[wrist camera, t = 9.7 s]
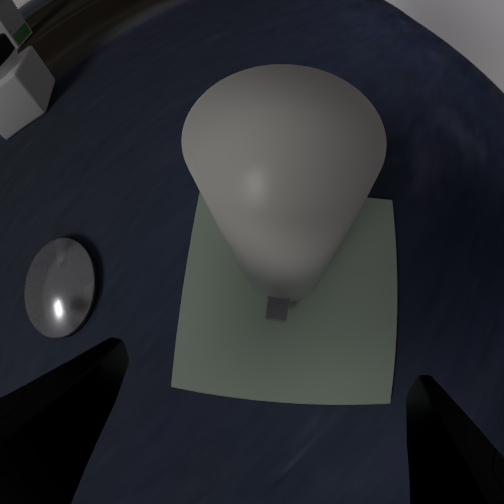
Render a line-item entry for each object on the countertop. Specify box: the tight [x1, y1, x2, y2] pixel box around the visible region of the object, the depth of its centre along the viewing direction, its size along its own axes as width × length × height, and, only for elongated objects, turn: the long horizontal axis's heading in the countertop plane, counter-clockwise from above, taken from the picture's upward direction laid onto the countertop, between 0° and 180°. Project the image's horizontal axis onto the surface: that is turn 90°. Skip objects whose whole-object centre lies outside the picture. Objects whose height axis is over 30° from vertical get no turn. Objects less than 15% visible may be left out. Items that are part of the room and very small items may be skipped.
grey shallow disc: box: [25, 238, 98, 338], centre depth 17 cm, size 7×7×1 cm
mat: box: [171, 192, 397, 405], centre depth 16 cm, size 12×12×1 cm
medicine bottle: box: [0, 33, 55, 140], centre depth 20 cm, size 7×7×12 cm
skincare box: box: [0, 0, 32, 50], centre depth 30 cm, size 8×7×16 cm
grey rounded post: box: [182, 64, 387, 322], centre depth 11 cm, size 6×4×11 cm
